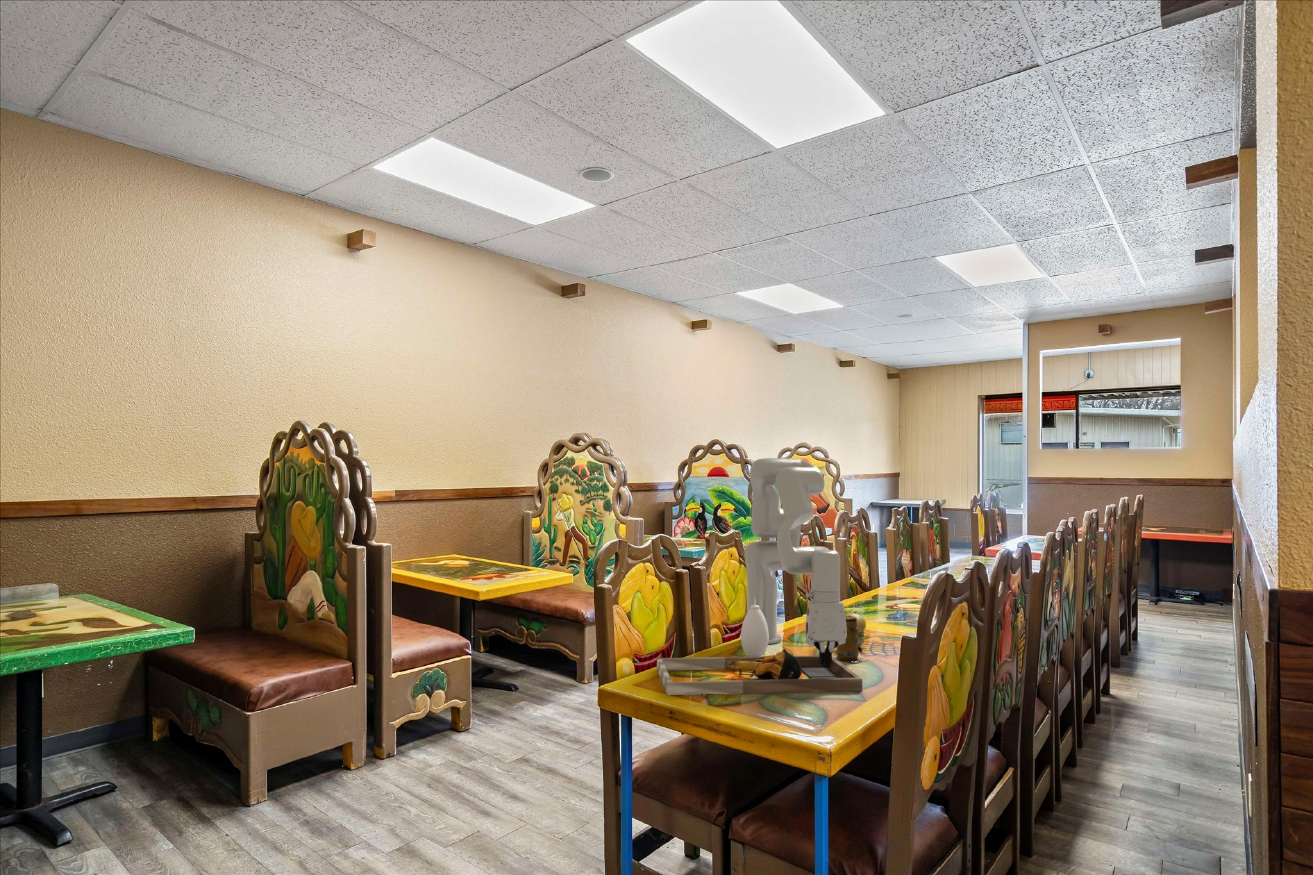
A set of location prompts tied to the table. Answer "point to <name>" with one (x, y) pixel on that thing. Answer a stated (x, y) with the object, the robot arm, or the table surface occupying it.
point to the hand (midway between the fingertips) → (825, 666)
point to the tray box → (810, 665)
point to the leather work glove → (772, 666)
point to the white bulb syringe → (754, 632)
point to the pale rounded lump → (859, 626)
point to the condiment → (850, 643)
